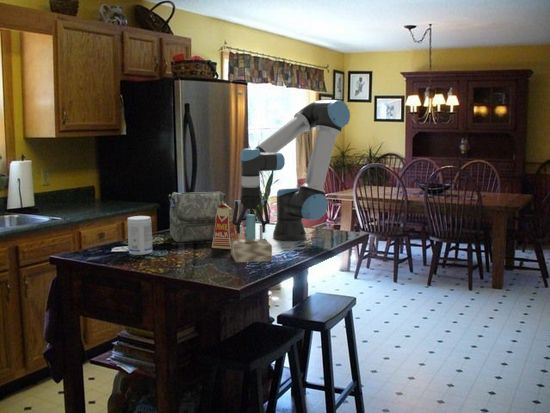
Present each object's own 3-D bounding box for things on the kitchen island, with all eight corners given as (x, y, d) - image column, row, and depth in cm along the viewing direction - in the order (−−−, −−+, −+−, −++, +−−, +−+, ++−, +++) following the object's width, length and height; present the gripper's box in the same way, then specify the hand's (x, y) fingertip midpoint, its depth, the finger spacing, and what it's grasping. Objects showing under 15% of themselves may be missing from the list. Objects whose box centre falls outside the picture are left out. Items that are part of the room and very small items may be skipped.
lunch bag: (172, 243, 273) (171, 194, 270) (166, 236, 290) (165, 190, 287) (229, 240, 281) (229, 192, 278) (220, 233, 298) (219, 188, 295)
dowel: (254, 249, 260) (254, 214, 258) (256, 251, 257) (256, 215, 255) (245, 250, 260) (245, 214, 257) (247, 251, 256) (246, 216, 254)
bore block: (265, 253, 253) (265, 238, 252) (271, 260, 240) (271, 245, 239) (231, 254, 250) (231, 240, 250) (235, 262, 237) (235, 246, 236)
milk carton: (232, 248, 262) (231, 202, 259) (211, 248, 264) (210, 201, 261) (237, 244, 271) (237, 199, 268) (217, 243, 273) (216, 198, 270)
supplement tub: (149, 249, 260) (148, 215, 258) (155, 254, 252) (154, 218, 250) (126, 251, 256) (124, 216, 254) (131, 256, 248) (130, 220, 246)
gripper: (273, 184, 260) (273, 238, 263) (224, 185, 256) (224, 240, 259) (277, 186, 253) (277, 241, 256) (226, 187, 249) (227, 243, 252)
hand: (250, 240), depth 257 cm, fingers open, 8 cm apart
